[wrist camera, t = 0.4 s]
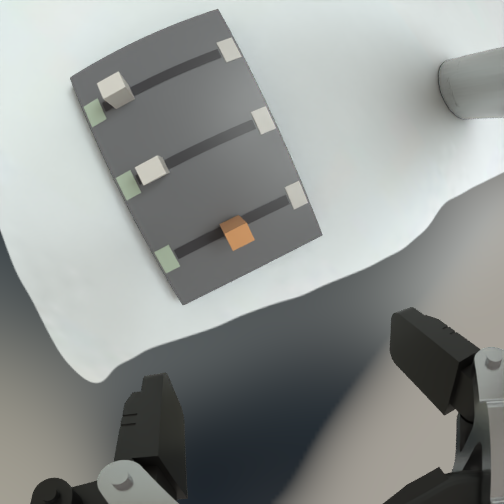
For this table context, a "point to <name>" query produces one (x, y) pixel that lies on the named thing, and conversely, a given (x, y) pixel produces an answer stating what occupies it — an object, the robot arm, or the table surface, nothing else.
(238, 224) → the block
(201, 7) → the table surface
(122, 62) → the panel
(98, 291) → the table surface
